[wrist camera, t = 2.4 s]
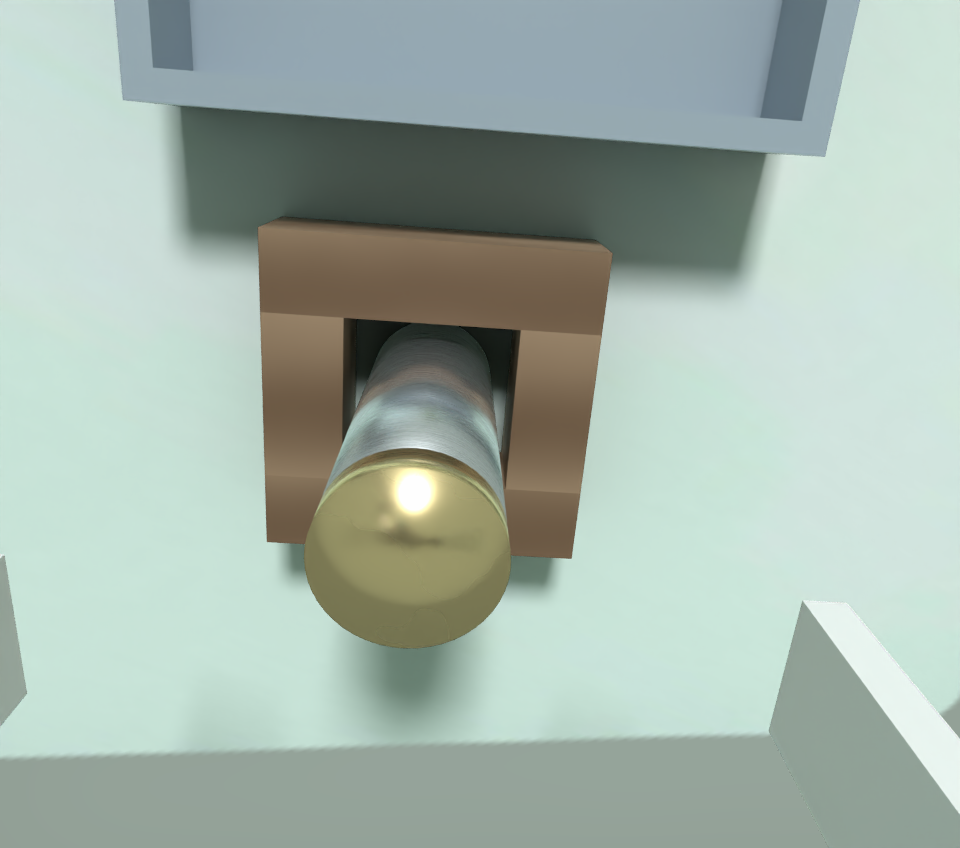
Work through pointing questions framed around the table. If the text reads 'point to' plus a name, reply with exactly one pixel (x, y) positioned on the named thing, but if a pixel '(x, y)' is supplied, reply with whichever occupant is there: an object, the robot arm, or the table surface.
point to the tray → (507, 65)
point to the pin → (415, 498)
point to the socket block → (432, 300)
